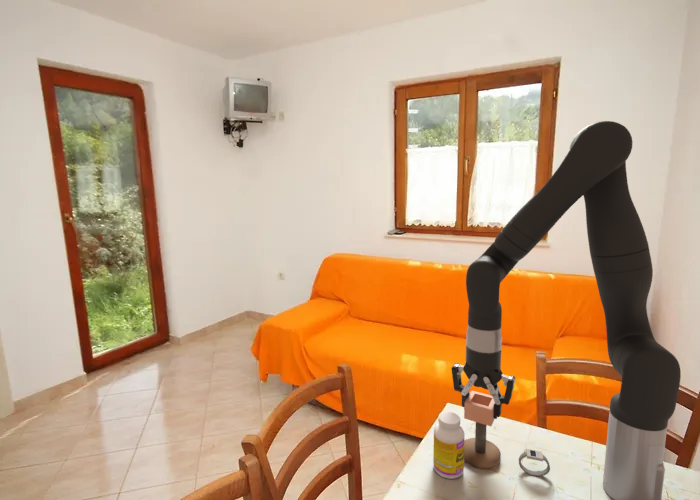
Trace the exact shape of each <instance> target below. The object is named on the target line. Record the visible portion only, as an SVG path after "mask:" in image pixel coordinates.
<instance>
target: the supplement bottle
mask: <svg viewBox="0 0 700 500" xmlns="http://www.w3.org/2000/svg"><path fill="white" fill-rule="evenodd" d="M464 441H465V430H464V429H463V427H462V426H461V417H460V416H459V415H458V414H457V413H455V412H452V411H443V412H440V413H439V414H438V423H437V424H435V426H434V429H433V461H432V462H433V470H434V471H435V472H436V473H437V474H438V476H440V477H442V478H445V479H449V480H451V479H452V480H453V479H454V480H455V479H457V478H460V477H461V476H462V475H463V473H464V468H465V467H464V466H465V465H464V464H465V461H464Z"/></svg>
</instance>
